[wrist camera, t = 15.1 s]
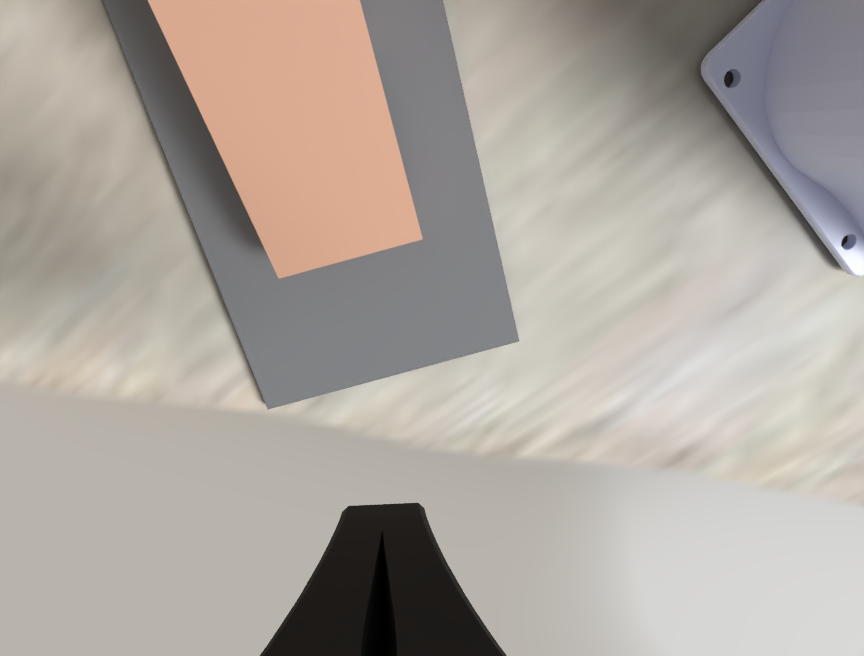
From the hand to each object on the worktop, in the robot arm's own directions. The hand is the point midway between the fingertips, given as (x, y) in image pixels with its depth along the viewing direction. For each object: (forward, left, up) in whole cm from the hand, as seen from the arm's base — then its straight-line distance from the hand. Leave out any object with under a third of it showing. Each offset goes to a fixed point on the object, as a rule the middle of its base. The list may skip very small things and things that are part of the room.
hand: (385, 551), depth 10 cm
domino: (+3, -2, -9) cm, 10 cm away
